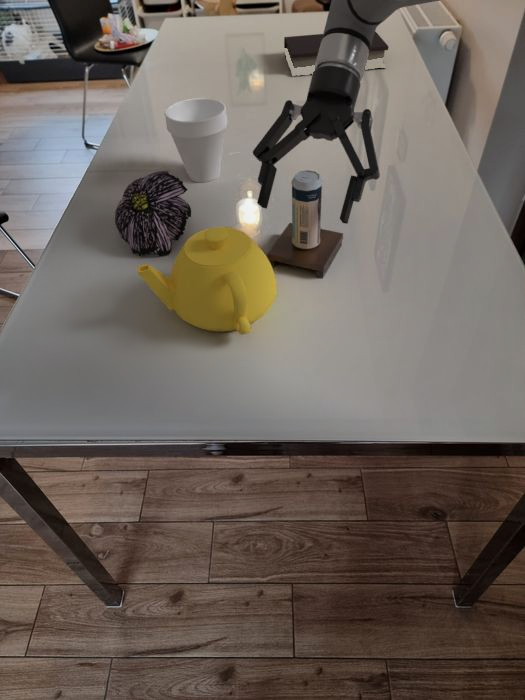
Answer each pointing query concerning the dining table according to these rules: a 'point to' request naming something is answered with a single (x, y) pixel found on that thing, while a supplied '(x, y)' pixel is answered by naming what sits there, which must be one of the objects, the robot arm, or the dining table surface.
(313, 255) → the flat wooden board
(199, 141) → the cup
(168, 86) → the dining table surface
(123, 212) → the decorative flower
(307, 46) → the book
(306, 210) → the beer can
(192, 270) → the teapot
